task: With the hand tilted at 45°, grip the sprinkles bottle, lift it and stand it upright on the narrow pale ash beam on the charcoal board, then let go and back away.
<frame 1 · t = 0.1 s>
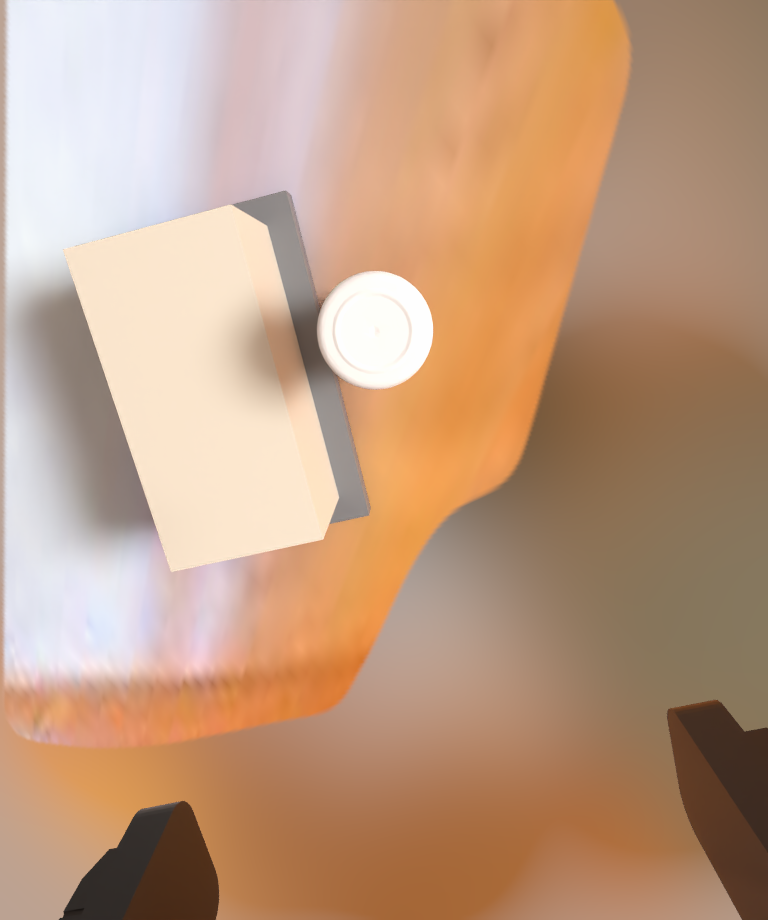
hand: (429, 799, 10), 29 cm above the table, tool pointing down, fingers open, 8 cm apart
ridge stand: (245, 381, 38), on the table
sprinkles bottle: (387, 324, 37), on the table
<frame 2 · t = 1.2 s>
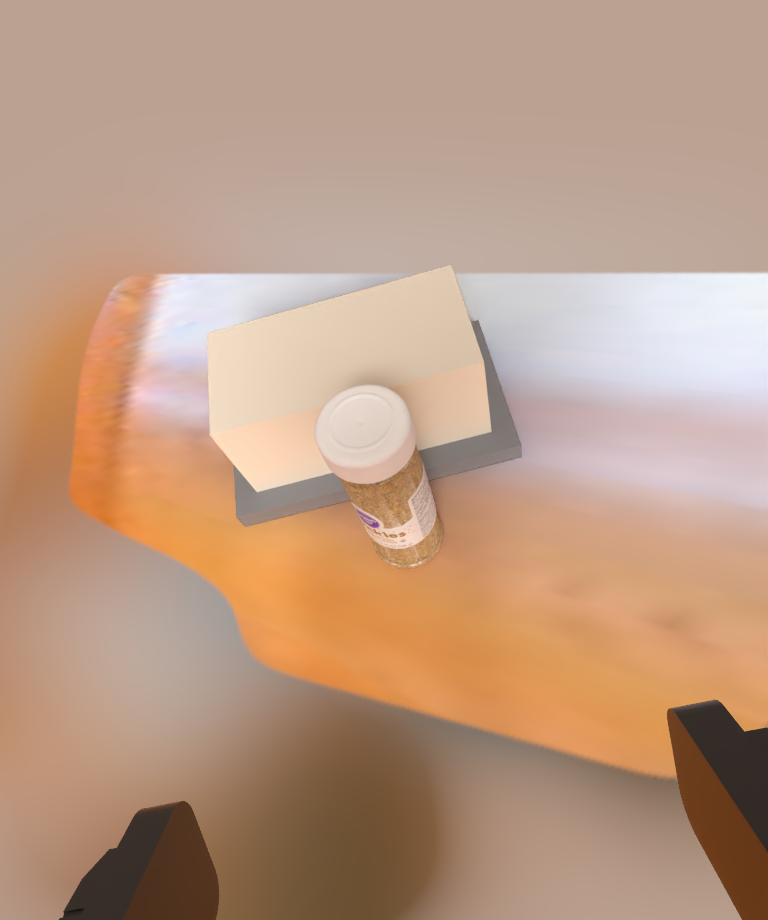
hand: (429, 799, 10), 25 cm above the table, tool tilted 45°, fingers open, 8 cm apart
ridge stand: (367, 425, 45), on the table
sprinkles bottle: (410, 538, 40), on the table
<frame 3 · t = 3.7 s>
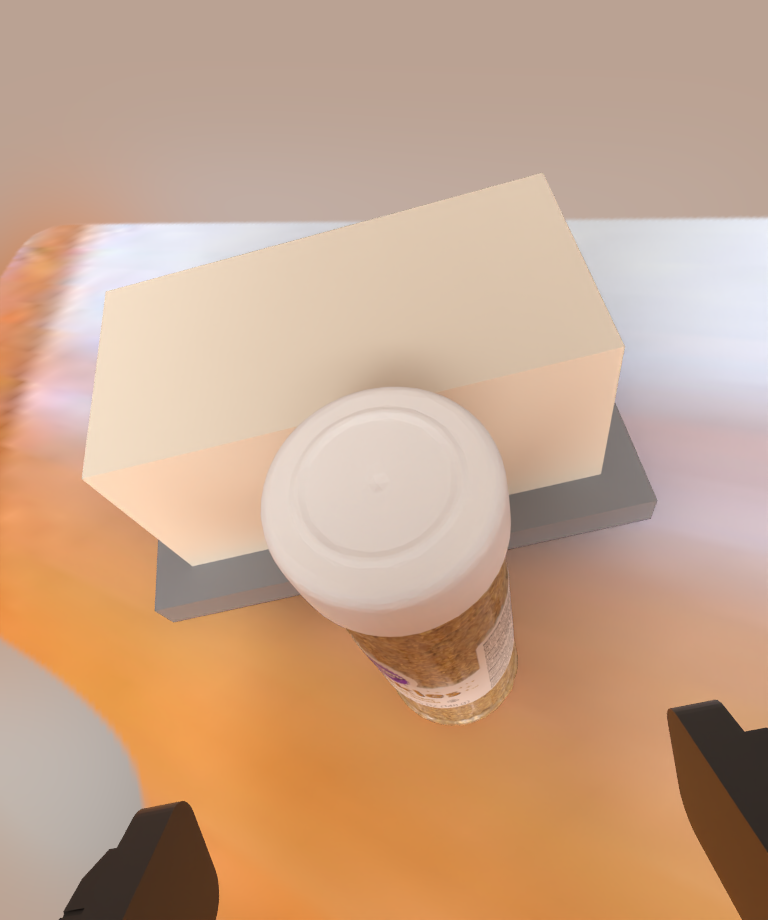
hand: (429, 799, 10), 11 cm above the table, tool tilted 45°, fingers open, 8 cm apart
ridge stand: (383, 454, 27), on the table
sprinkles bottle: (455, 661, 23), on the table
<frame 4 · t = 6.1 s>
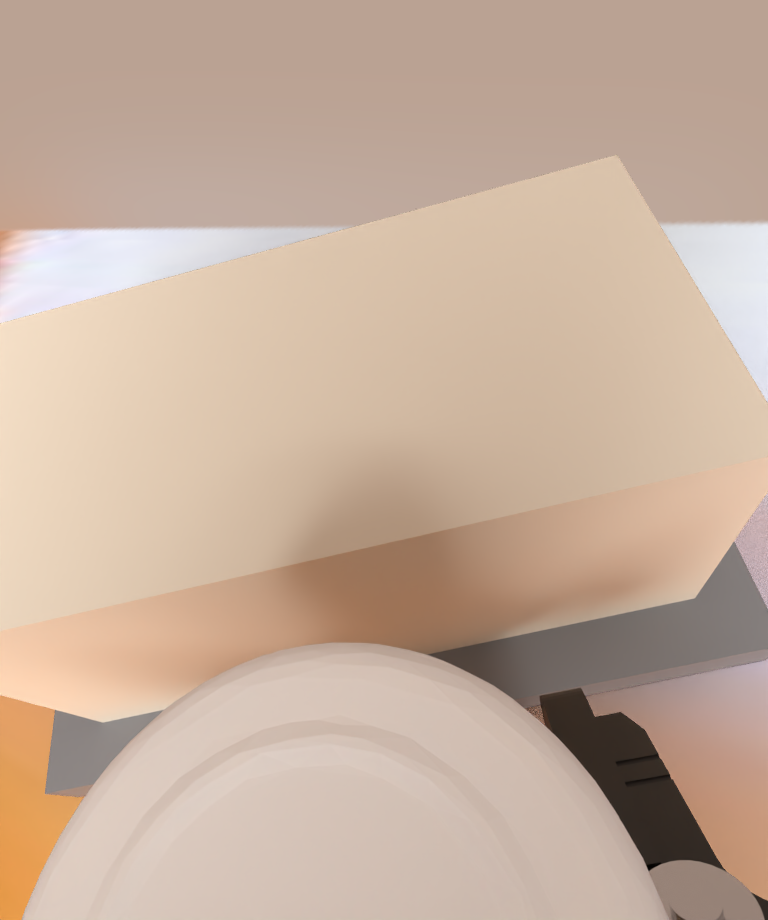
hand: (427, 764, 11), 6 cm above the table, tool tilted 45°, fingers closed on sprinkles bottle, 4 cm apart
ridge stand: (376, 547, 20), on the table
sprinkles bottle: (484, 883, 15), on the table, touching gripper
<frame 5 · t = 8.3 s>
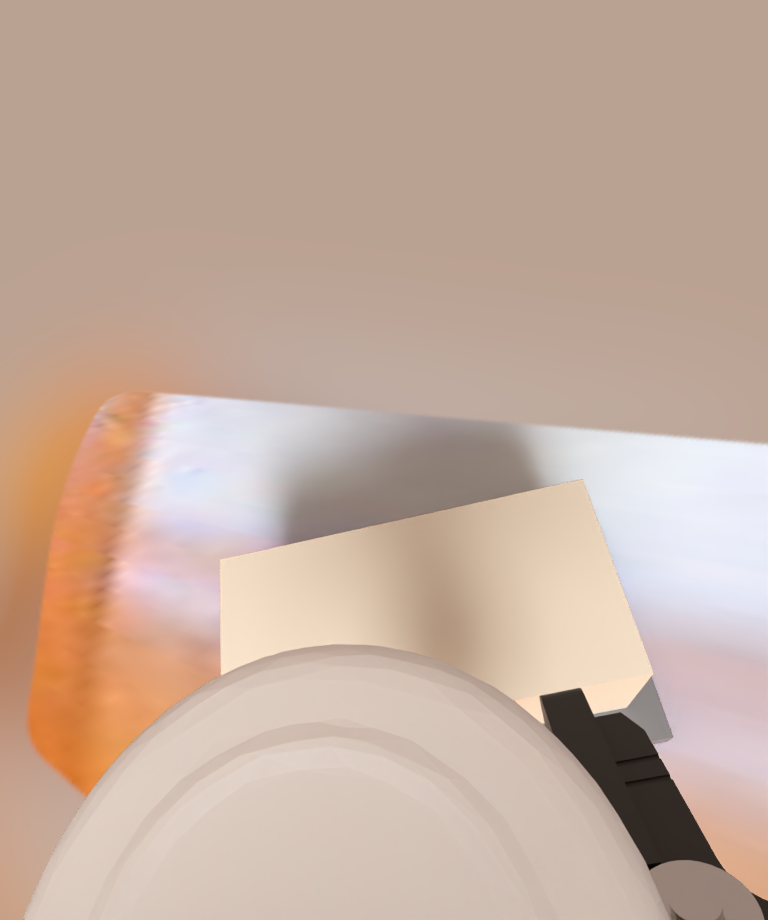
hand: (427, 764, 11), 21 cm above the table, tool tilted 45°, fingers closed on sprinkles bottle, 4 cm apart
ridge stand: (438, 660, 32), on the table
sprinkles bottle: (484, 884, 15), point 15 cm above the table, touching gripper
when the fingers open (16 cm above the table, at t = 10.5 s): sprinkles bottle drops 1 cm, resting on ridge stand.
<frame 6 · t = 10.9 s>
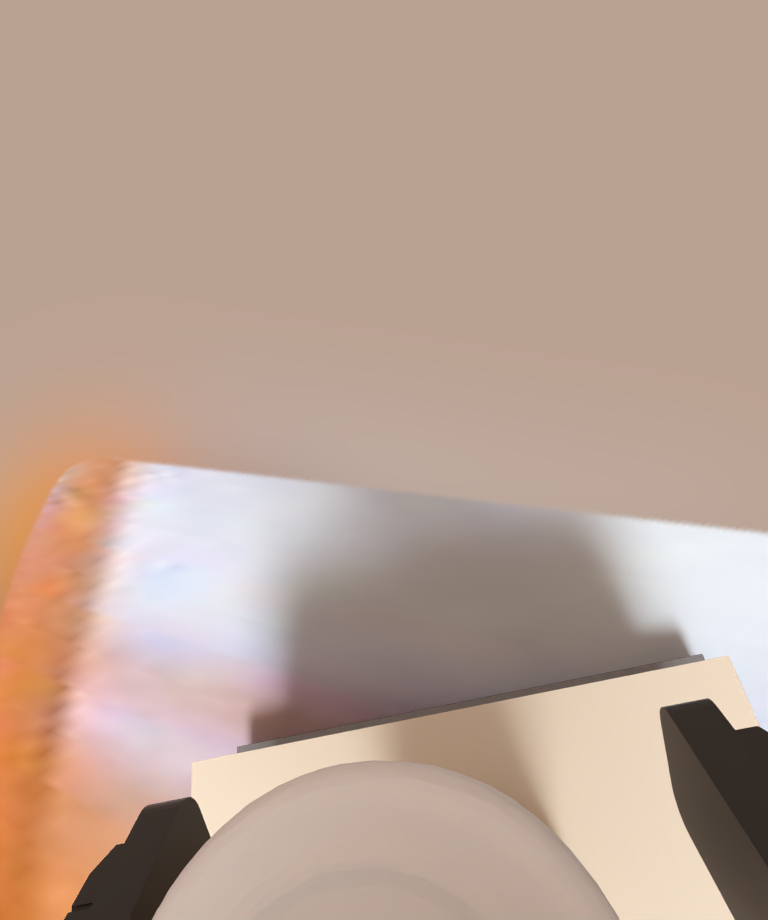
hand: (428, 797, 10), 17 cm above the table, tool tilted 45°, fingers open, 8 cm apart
ridge stand: (497, 861, 24), on the table
sprinkles bottle: (484, 888, 16), point 9 cm above the table, touching ridge stand
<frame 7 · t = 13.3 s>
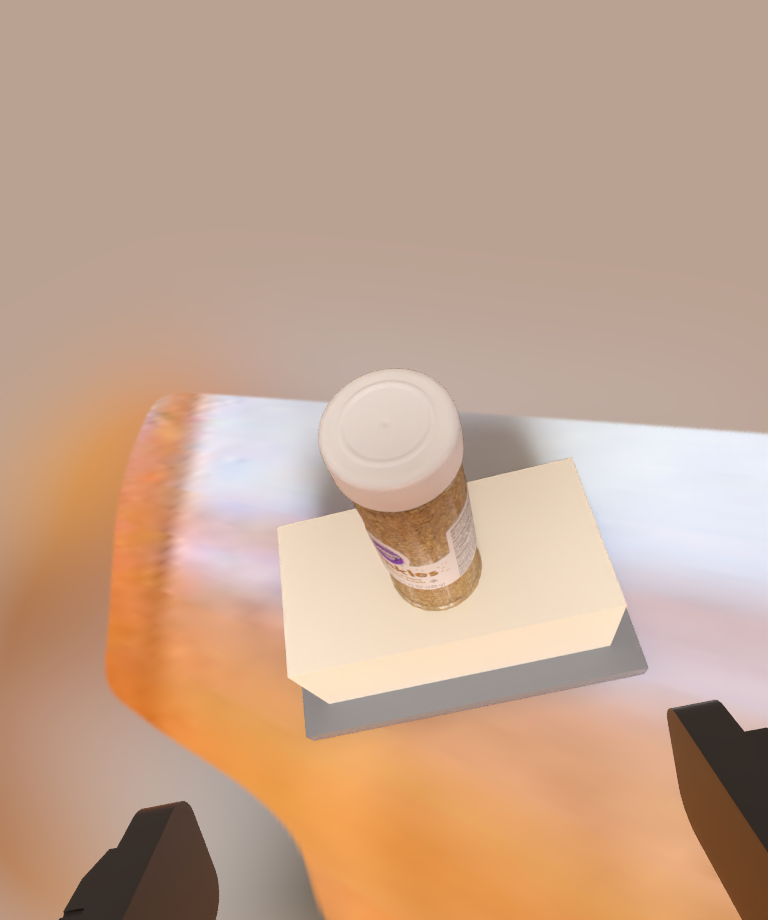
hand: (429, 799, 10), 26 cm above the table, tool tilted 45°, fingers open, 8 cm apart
ridge stand: (454, 614, 39), on the table
sprinkles bottle: (438, 570, 31), point 9 cm above the table, touching ridge stand
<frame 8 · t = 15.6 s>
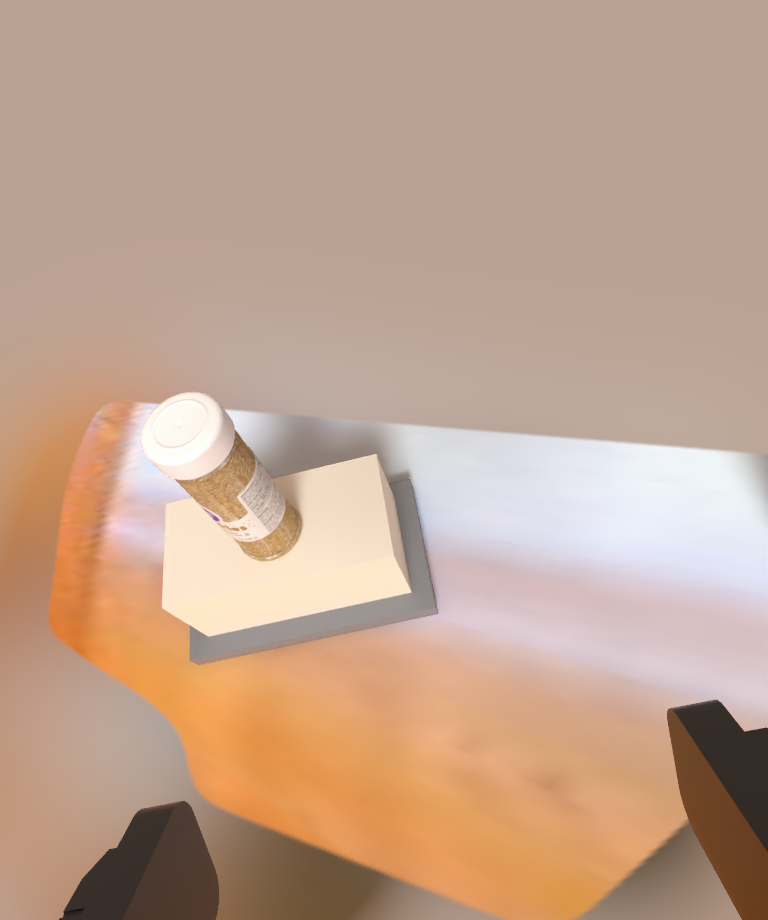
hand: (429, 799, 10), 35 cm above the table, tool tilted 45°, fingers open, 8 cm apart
ridge stand: (309, 572, 51), on the table
sprinkles bottle: (273, 533, 44), point 9 cm above the table, touching ridge stand
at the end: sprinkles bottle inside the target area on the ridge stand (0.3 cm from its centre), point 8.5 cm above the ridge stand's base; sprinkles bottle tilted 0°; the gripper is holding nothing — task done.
